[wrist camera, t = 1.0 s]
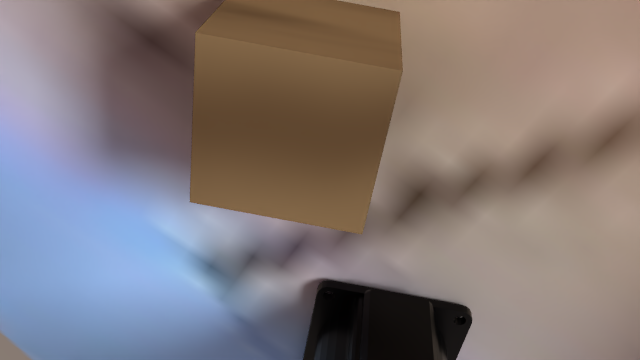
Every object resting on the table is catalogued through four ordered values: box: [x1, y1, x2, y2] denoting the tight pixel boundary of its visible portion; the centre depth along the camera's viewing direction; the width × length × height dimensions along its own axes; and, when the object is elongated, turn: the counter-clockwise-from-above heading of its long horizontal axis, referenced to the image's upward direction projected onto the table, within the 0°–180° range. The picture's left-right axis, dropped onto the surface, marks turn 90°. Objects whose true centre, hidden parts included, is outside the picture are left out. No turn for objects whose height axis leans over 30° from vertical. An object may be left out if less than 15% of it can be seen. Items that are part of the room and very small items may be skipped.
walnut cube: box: [190, 0, 403, 234], centre depth 17 cm, size 5×5×5 cm
